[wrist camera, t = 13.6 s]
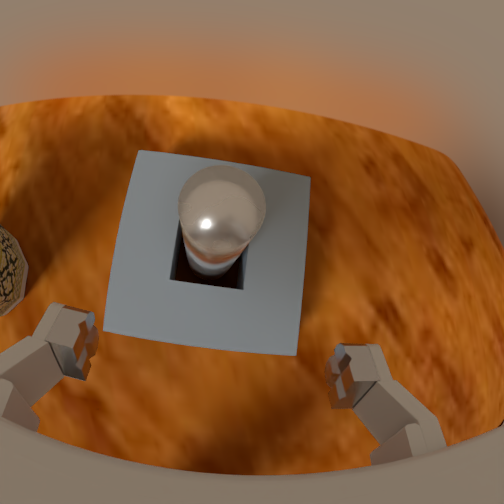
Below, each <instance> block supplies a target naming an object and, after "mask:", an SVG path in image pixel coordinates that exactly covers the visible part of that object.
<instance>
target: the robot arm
mask: <svg viewBox="0 0 504 504" xmlns="http://www.w3.org/2000/svg"><path fill="white" fill-rule="evenodd" d="M94 321H95V317H94V313H93V312H91V311H87V310H83V309H79V308H75V307H71V306H68V305H63V304H60V303H56V302H53V303H51V304H50V305H49V307H48V309H47V310H46V312H45V314H44V315H43V317H42V319H41V321H40V323H39V324H38V326H37V328H36V330H35V332H34V334H33V335H32V337H31V336H27V337H26V338H24V339H23V340H21V341H19V342H18V343H16V344H15V345H13V346H12V347H10V348H8V349H7V350H5V351H4V352H2V353H1V354H0V504H504V422H503V424H502V425H501V426H500V427H497V428H495V429H493V430H490V431H488V432H486V433H483V434H481V435H478V436H476V437H473V438H470V439H468V440H465V441H462V442H460V443H457V444H454V445H451V446H448V447H447V446H446V442H445V439H444V436H443V434H442V431H441V428H440V425H439V422H438V419H437V417H436V416H434V415H433V414H432V413H431V412H430V411H429V410H428V409H427V408H426V407H425V406H424V405H423V404H421V403H420V402H419V401H418V400H417V399H416V398H415V397H414V396H413V395H412V394H411V393H409V392H408V391H407V390H406V389H405V388H404V387H403V386H402V385H401V384H400V383H399V382H398V381H396V380H393V379H392V376H391V374H390V371H389V368H388V365H387V363H386V360H385V358H384V355H383V352H382V350H381V347H380V346H379V345H378V344H353V343H340V344H338V345H337V346H336V348H335V349H334V351H335V355H333V356H331V357H330V358H329V359H328V361H327V363H326V367H325V380H326V383H327V384H328V385H329V386H330V387H331V389H330V391H329V393H328V395H329V399H330V404H331V409H348V408H353V409H352V410H353V411H354V412H355V413H356V415H357V416H358V417H359V419H360V420H361V421H362V422H363V424H364V425H365V426H366V427H367V429H368V430H369V431H370V432H371V434H372V435H373V436H374V437H375V439H376V440H377V441H378V442H379V443H380V446H379V447H378V448H376V449H375V450H373V451H372V452H371V454H370V459H371V463H372V466H367V467H361V468H354V469H347V470H340V471H332V472H322V473H311V474H295V475H229V474H214V473H202V472H193V471H184V470H177V469H170V468H163V467H157V466H152V465H146V464H141V463H136V462H132V461H127V460H123V459H118V458H114V457H110V456H106V455H103V454H99V453H95V452H92V451H89V450H85V449H82V448H79V447H76V446H73V445H70V444H67V443H64V442H61V441H58V440H55V439H53V438H50V437H47V436H45V435H42V434H40V433H37V429H38V426H39V423H40V420H39V418H38V416H37V415H36V414H35V413H34V411H33V410H32V409H31V408H30V407H31V406H32V405H33V404H35V403H36V402H37V401H38V400H39V399H40V398H41V397H42V396H43V395H44V394H46V393H47V392H48V391H49V390H50V389H51V388H52V387H53V386H54V385H56V384H57V383H58V382H59V381H60V380H61V379H62V378H63V377H64V376H68V377H72V378H75V379H79V380H83V381H86V379H87V376H88V373H89V370H90V368H91V363H90V360H89V359H90V358H91V357H93V356H94V355H95V353H96V351H97V347H98V341H99V335H98V329H97V328H96V327H95V326H94V325H93V324H94Z"/></svg>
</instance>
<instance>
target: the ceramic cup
mask: <svg viewBox="0 0 504 504" xmlns="http://www.w3.org/2000/svg"><path fill="white" fill-rule="evenodd" d="M27 274H28V264H27V261H26V259H25V257H24V255H23V253H22V250H21V248H20V246H19V243H18V241H17V239H16V238H14V237H13V236H12V234H10V233H9V232H8V231H7V230H6V229H5V228H4V227H3V226H2V225H1V224H0V316H3V315H6V314H7V313H9V312H10V311H11V310H12V309H13V308H14V307H15V306H16V305H17V304H18V303H19V302H20V301H22V300H23V298H24V293H25V286H26V280H27Z"/></svg>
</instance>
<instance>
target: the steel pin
mask: <svg viewBox="0 0 504 504" xmlns="http://www.w3.org/2000/svg"><path fill="white" fill-rule="evenodd" d="M178 213H179V219H180V224H181V229H182V234H183V239H184V244H185V249H186V254H187V259H188V264H189V267H190V269H191V271H192V272H193V273H194V274H195V275H196V276H197V277H199V278H201V279H203V280H216V279H219V278H221V277H222V276H223V275H225V274H226V272H227V271H228V270H229V269H230V267H231V266H232V265H233V263H234V262H235V261H236V259H237V258H238V257H239V255H240V254H241V253H242V252H243V250H244V249H245V248H246V246H247V245H248V244H249V242H250V241H251V240H252V239H253V237H254V236H255V235H256V233H257V232H258V231H259V229H260V228H261V226H262V224H263V221H264V218H265V214H266V201H265V197H264V194H263V191H262V189H261V187H260V185H259V184H258V183H257V181H256V180H255V179H254V178H253V177H252V176H251V175H249V174H248V173H246V172H245V171H243V170H241V169H239V168H236V167H233V166H229V165H214V166H209V167H206V168H203V169H201V170H199V171H197V172H196V173H195V174H193V175H192V176H191V177H190V178H189V179H188V180H187V181H186V182H185V184H184V186H183V187H182V189H181V192H180V195H179V198H178Z"/></svg>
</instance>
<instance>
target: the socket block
mask: <svg viewBox="0 0 504 504" xmlns="http://www.w3.org/2000/svg"><path fill="white" fill-rule="evenodd" d="M214 165H229V166H233V167H236V168H239V169H241V170H243V171H245V172H246V173H248V174H249V175H251V176H252V177H253V178H254V179H255V180H256V181H257V183H258V184H259V185H260V187H261V189H262V191H263V194H264V197H265V201H266V214H265V218H264V221H263V224H262V226H261V228H260V229H259V231H258V232H257V233H256V235H255V236H254V237H253V239H252V240H251V241H250V242H249V244H248V245H247V246H246V248H245V249H244V250H243V252H242V253H241V254H240V261H239V269H238V277H237V286H236V289H232V288H225V287H217V286H210V285H203V284H196V283H189V282H182V281H175V278H176V271H177V264H178V258H179V251H180V245H181V239H182V229H181V224H180V219H179V213H178V198H179V195H180V192H181V189H182V187H183V186H184V184H185V182H186V181H187V180H188V179H189V178H190V177H191V176H192V175H193V174H195V173H196V172H197V171H199V170H201V169H203V168H206V167H209V166H214ZM310 179H311V177H308V176H303V175H298V174H293V173H289V172H284V171H279V170H273V169H268V168H263V167H257V166H252V165H246V164H240V163H234V162H228V161H222V160H215V159H208V158H202V157H194V156H187V155H179V154H171V153H163V152H154V151H144V150H139V151H138V154H137V158H136V161H135V165H134V168H133V172H132V175H131V179H130V183H129V187H128V191H127V195H126V199H125V203H124V207H123V212H122V216H121V221H120V225H119V230H118V235H117V240H116V245H115V250H114V256H113V262H112V267H111V273H110V280H109V286H108V293H107V301H106V309H105V317H104V326H103V331H107V332H112V333H117V334H122V335H127V336H132V337H138V338H143V339H149V340H155V341H161V342H168V343H174V344H181V345H188V346H196V347H203V348H212V349H220V350H229V351H239V352H250V353H262V354H275V355H291V356H296V351H297V343H298V334H299V325H300V315H301V305H302V295H303V284H304V272H305V260H306V247H307V233H308V217H309V200H310Z"/></svg>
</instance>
